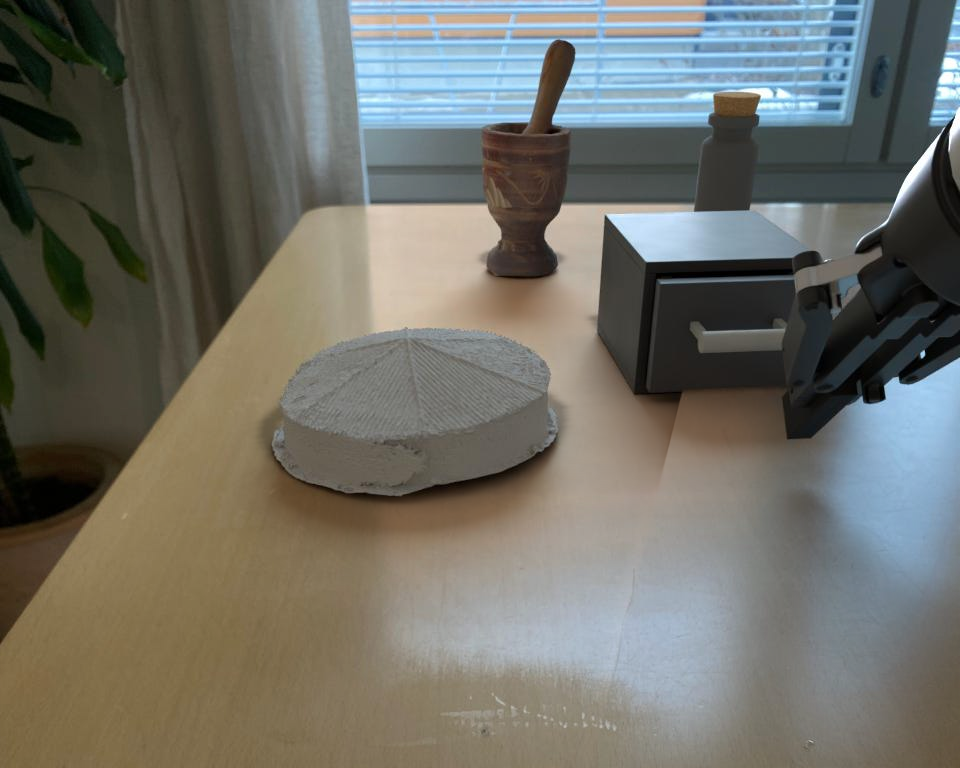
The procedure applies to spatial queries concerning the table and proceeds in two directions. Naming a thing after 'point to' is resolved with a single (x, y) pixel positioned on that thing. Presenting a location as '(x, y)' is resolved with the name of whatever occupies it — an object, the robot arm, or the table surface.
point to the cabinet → (673, 268)
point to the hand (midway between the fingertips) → (796, 417)
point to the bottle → (729, 154)
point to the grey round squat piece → (414, 411)
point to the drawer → (718, 329)
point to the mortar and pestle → (528, 174)
